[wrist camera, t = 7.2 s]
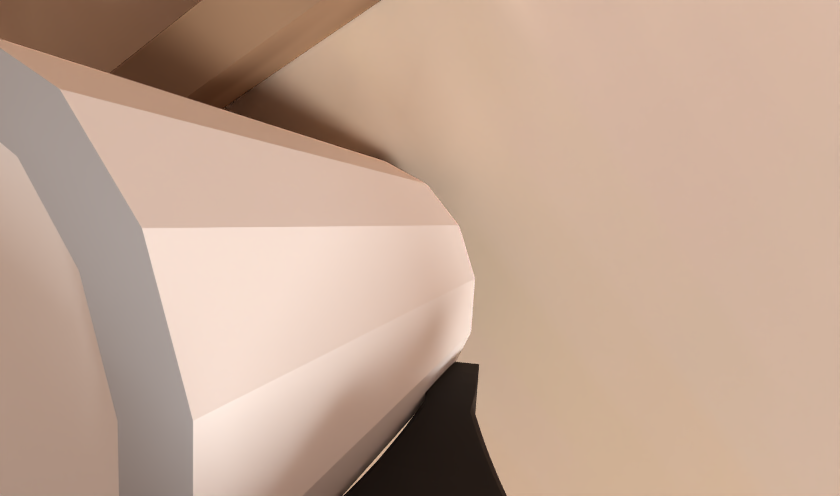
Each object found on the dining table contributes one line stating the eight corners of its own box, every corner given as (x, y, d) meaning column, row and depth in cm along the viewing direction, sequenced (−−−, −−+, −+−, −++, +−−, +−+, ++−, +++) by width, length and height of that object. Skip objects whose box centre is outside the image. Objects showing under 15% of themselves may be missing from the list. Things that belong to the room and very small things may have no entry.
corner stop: (29, 409, 16) (-52, 470, 13) (-24, -185, 9) (-193, -259, 7) (288, 498, 15) (251, 577, 13) (414, -58, 9) (384, -93, 7)
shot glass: (230, 157, 12) (-214, 115, 6) (485, 96, 9) (99, -120, 3) (264, 422, 13) (-128, 636, 6) (524, 451, 9) (243, 930, 3)
